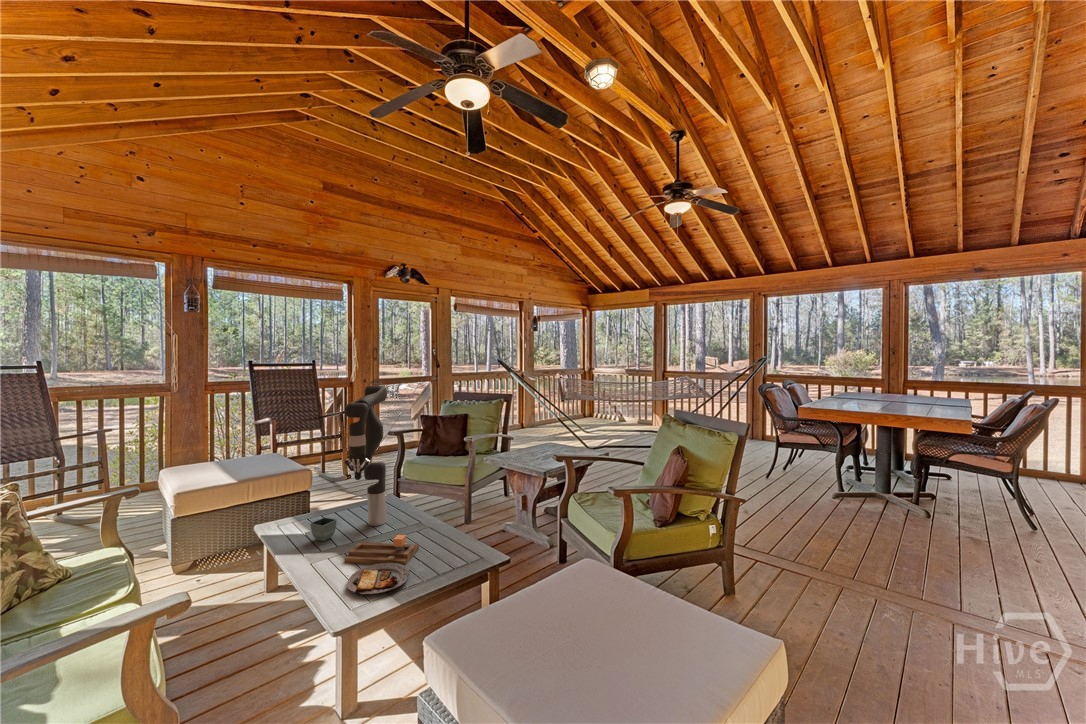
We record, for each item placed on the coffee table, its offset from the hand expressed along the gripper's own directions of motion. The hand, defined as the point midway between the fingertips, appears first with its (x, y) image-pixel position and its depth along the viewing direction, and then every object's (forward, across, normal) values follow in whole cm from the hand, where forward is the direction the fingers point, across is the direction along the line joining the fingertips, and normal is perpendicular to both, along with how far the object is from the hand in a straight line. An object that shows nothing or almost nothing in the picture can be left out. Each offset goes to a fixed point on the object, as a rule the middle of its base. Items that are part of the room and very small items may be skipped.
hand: (358, 479), depth 214 cm
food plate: (+32, -26, +32) cm, 52 cm away
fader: (+30, -25, +10) cm, 40 cm away
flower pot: (+32, +21, -4) cm, 39 cm away
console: (+32, -17, +10) cm, 38 cm away
